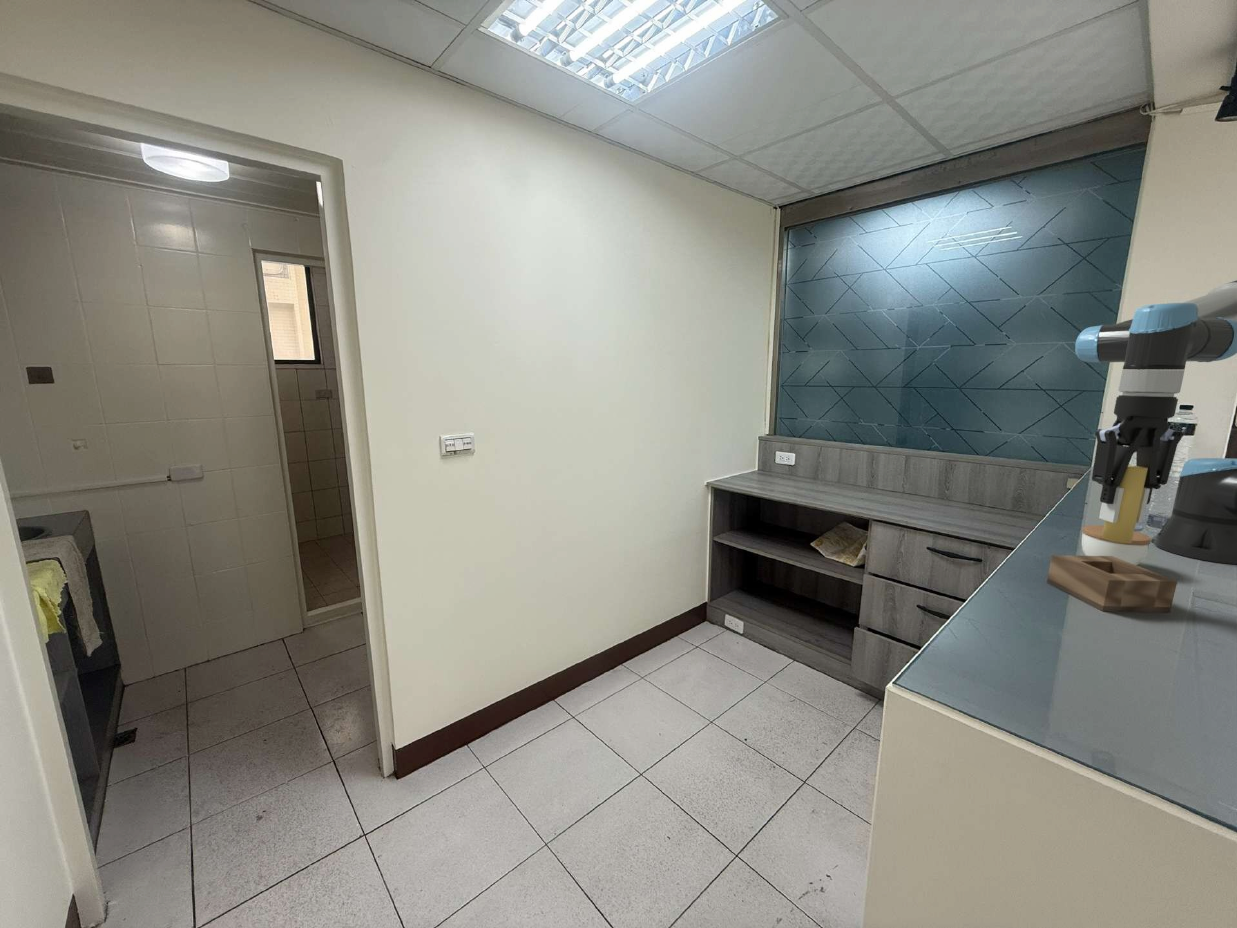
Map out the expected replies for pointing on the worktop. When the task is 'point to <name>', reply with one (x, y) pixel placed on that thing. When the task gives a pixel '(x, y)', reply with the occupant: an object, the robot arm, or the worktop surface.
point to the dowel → (1127, 506)
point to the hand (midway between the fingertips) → (1120, 520)
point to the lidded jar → (1114, 545)
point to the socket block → (1111, 583)
